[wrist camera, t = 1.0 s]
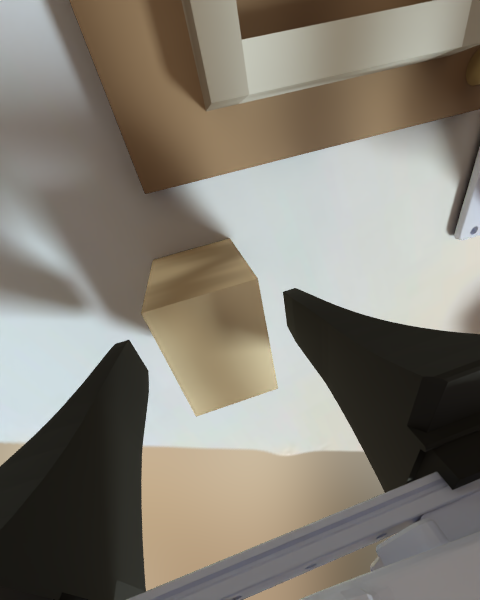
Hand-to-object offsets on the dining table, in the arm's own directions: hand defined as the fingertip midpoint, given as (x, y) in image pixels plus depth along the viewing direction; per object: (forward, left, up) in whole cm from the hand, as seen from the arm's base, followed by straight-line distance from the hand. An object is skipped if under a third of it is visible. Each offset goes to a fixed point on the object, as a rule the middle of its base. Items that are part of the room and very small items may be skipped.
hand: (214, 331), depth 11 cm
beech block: (0, 0, -3) cm, 3 cm away
